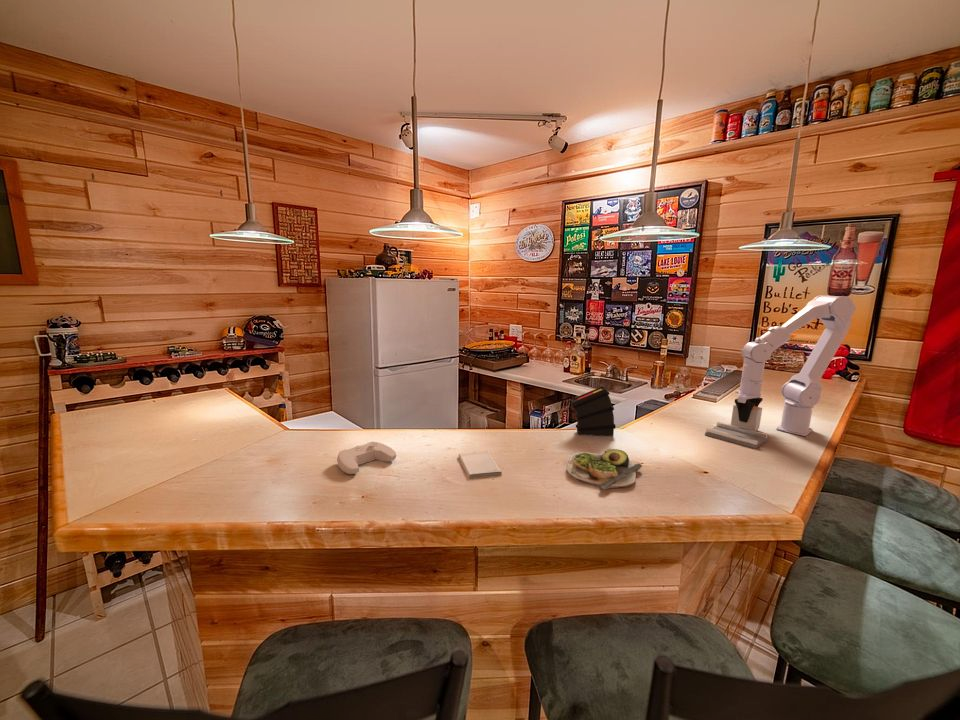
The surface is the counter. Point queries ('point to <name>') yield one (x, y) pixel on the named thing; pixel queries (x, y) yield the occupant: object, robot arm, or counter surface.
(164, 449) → the counter surface
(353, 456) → the game controller
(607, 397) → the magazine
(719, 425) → the rail mount
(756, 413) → the module block
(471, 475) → the hard drive
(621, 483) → the avocado toast plate
